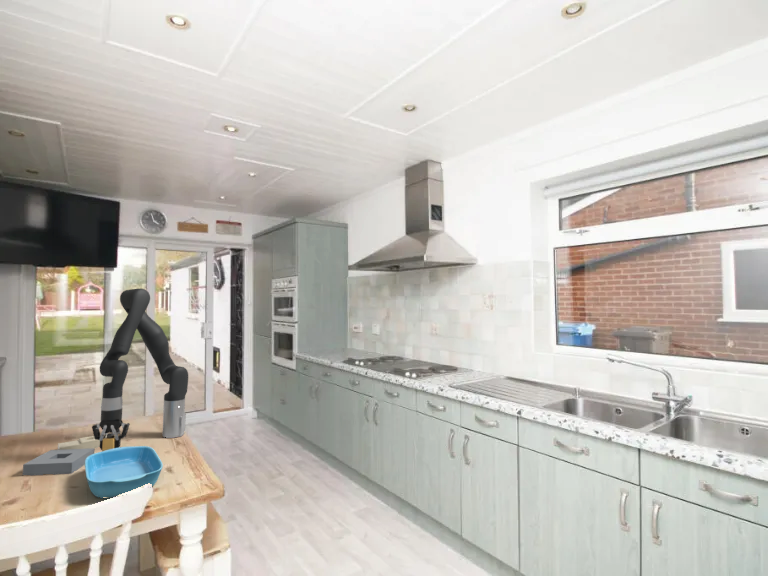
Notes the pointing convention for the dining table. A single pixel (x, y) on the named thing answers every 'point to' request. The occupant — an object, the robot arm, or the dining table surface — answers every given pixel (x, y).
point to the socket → (57, 462)
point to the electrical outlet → (80, 443)
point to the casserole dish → (122, 470)
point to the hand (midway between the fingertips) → (109, 448)
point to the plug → (108, 442)
